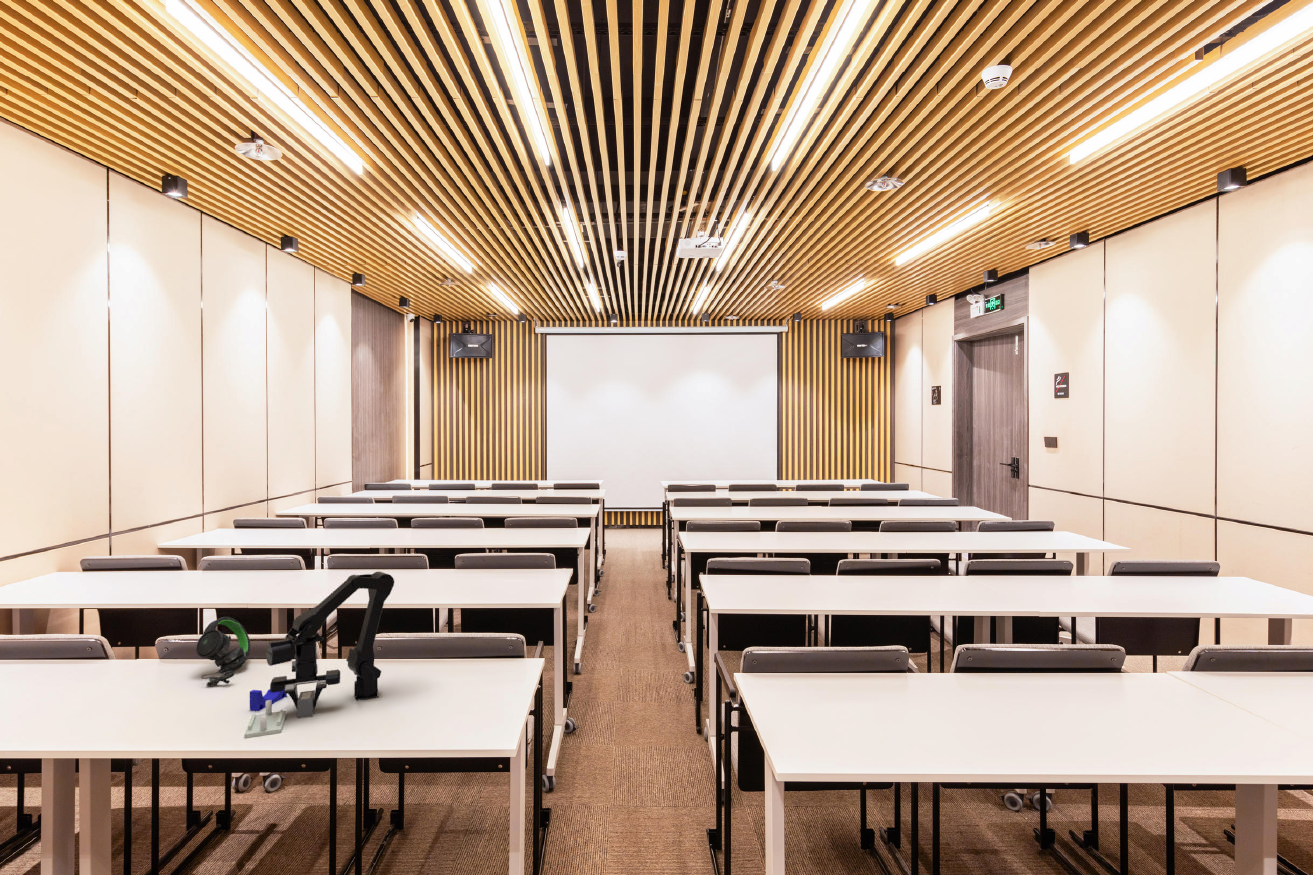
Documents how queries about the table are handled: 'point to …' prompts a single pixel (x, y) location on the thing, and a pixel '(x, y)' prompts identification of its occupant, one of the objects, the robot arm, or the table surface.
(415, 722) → the table surface
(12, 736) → the table surface
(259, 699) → the cable clip
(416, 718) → the table surface
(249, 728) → the pegged rail plate
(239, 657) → the headset
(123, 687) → the table surface
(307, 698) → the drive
